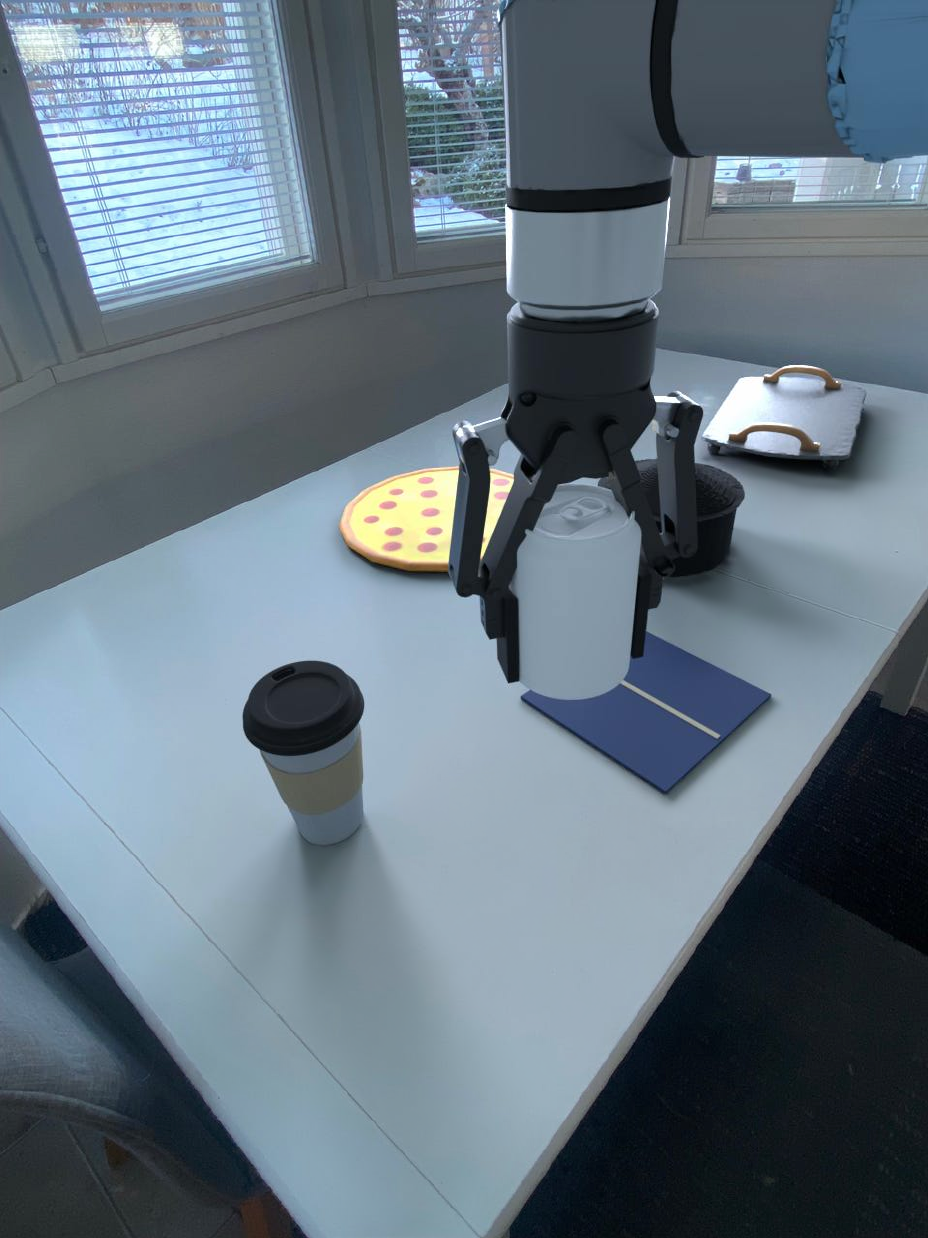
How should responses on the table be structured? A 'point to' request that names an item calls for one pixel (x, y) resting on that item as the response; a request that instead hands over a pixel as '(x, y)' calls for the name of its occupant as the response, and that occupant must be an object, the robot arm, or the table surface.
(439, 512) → the pizza
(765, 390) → the serving tray
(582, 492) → the beverage can
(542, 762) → the table surface
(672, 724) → the napkin
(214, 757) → the table surface
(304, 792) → the coffee cup
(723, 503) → the black round tub
